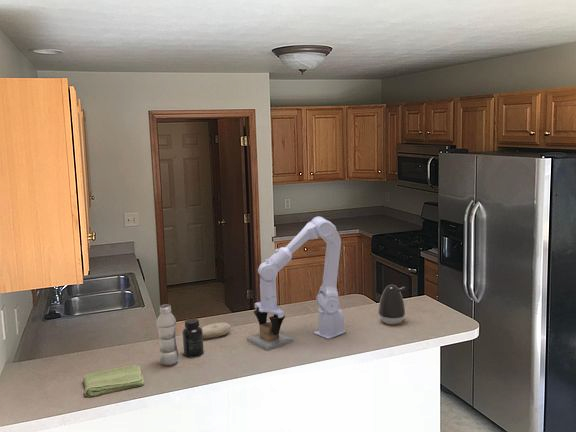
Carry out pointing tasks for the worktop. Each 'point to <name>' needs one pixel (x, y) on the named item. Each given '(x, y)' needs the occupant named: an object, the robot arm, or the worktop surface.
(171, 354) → the plastic bottle
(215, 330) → the stone
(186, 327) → the supplement bottle
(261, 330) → the cube
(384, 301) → the pump dispenser
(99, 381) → the washcloth
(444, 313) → the worktop surface
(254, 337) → the grey framed panel
